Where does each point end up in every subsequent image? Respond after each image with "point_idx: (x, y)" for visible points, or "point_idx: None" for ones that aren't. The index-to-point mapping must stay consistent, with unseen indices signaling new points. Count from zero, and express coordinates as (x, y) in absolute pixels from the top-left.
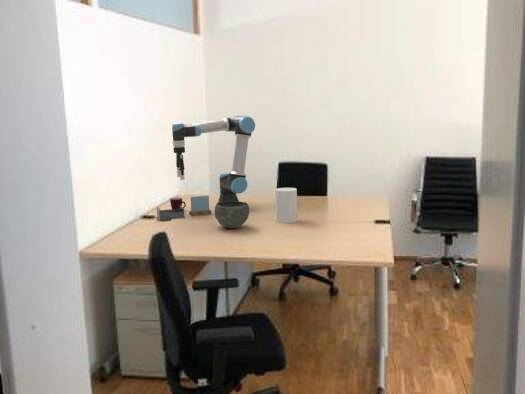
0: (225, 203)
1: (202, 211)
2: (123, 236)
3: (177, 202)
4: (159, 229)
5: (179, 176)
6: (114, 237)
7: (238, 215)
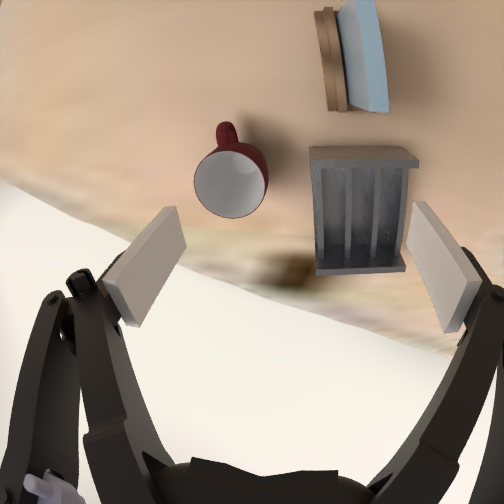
0: None
1: None
2: None
3: (267, 175)
4: (493, 258)
5: (179, 231)
6: None
7: None
